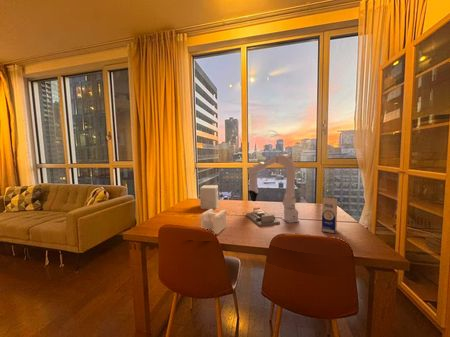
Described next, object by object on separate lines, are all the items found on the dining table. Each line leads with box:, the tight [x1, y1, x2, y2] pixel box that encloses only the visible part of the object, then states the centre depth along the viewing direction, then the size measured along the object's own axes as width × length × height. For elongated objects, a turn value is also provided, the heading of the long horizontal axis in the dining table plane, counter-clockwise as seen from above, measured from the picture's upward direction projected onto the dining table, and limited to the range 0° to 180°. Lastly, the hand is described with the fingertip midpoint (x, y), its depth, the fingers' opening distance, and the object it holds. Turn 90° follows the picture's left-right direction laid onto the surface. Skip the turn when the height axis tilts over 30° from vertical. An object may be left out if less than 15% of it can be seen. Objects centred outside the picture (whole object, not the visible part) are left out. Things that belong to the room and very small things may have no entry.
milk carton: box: [321, 195, 338, 234], centre depth 122 cm, size 7×7×20 cm
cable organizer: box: [200, 209, 228, 235], centre depth 127 cm, size 15×11×12 cm
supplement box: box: [199, 184, 220, 210], centre depth 179 cm, size 13×13×18 cm
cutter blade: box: [252, 207, 266, 215], centre depth 149 cm, size 9×5×4 cm, turn 15°
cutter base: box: [245, 211, 281, 227], centre depth 145 cm, size 24×14×6 cm, turn 15°
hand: (253, 200), depth 158 cm, fingers closed
